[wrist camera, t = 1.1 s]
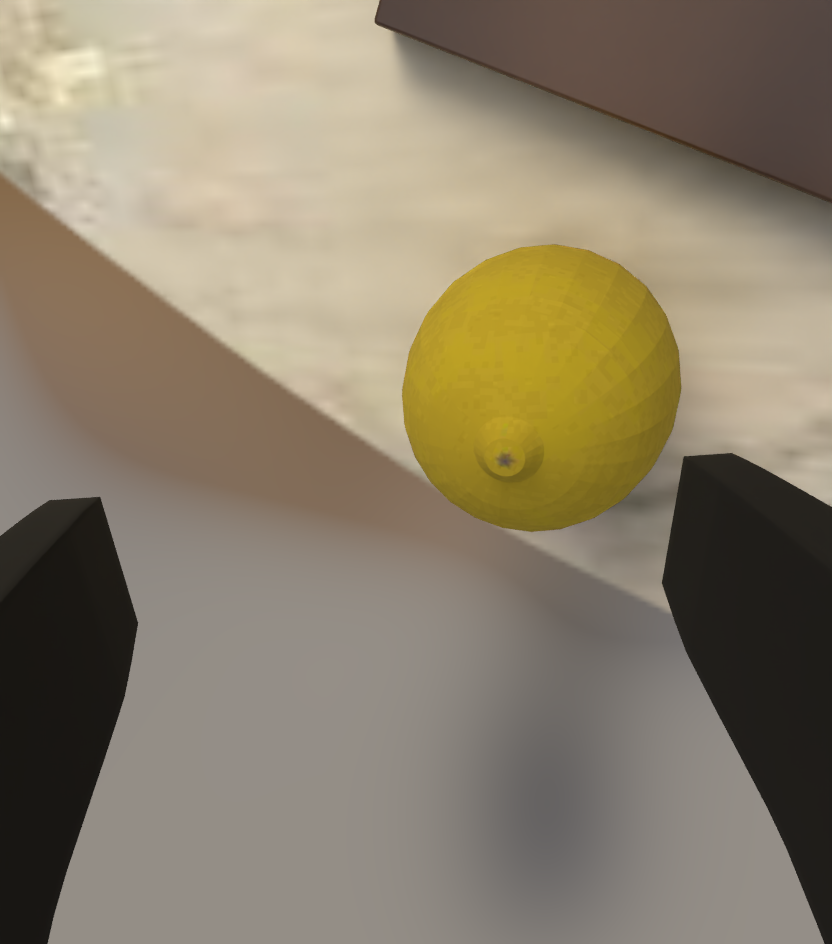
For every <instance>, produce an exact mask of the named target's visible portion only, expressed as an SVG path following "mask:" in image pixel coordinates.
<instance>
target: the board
mask: <svg viewBox="0 0 832 944" xmlns="http://www.w3.org/2000/svg"><path fill="white" fill-rule="evenodd" d="M375 23H376V24H377V25H378V26H381V27H384V28H386V29H389V30H391V31H394V32H396V33H399V34H401V35H404V36H406V37H409V38H412V39H414V40H417V41H419V42H422V43H424V44H427V45H429V46H432V47H435V48H437V49H440V50H442V51H445V52H447V53H450V54H452V55H455V56H458V57H460V58H463V59H465V60H468V61H470V62H473V63H475V64H478V65H480V66H483V67H486V68H488V69H491V70H493V71H496V72H498V73H501V74H503V75H506V76H509V77H511V78H514V79H516V80H519V81H521V82H524V83H526V84H529V85H531V86H534V87H537V88H539V89H542V90H544V91H547V92H549V93H552V94H554V95H557V96H560V97H562V98H565V99H567V100H570V101H572V102H575V103H577V104H580V105H582V106H585V107H588V108H590V109H593V110H595V111H598V112H600V113H603V114H605V115H608V116H611V117H613V118H616V119H618V120H621V121H623V122H626V123H628V124H631V125H634V126H636V127H639V128H641V129H644V130H646V131H649V132H651V133H654V134H656V135H659V136H662V137H664V138H667V139H669V140H672V141H674V142H677V143H679V144H682V145H685V146H687V147H690V148H692V149H695V150H697V151H700V152H702V153H705V154H707V155H710V156H713V157H715V158H718V159H720V160H723V161H725V162H728V163H730V164H733V165H736V166H738V167H741V168H743V169H746V170H748V171H751V172H753V173H756V174H758V175H761V176H764V177H766V178H769V179H771V180H774V181H776V182H779V183H781V184H784V185H787V186H789V187H792V188H794V189H797V190H799V191H802V192H804V193H807V194H810V195H812V196H815V197H817V198H820V199H822V200H825V201H827V202H830V203H832V0H380V1H379V5H378V9H377V12H376V16H375Z"/></svg>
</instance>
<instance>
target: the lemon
mask: <svg viewBox="0 0 832 944" xmlns="http://www.w3.org/2000/svg"><path fill="white" fill-rule="evenodd" d="M680 393H681V378H680V363H679V350H678V347H677V344H676V341H675V339H674V336H673V333H672V330H671V327H670V324H669V322H668V319H667V316H666V314H665V313H664V311H663V310H662V308H661V307H660V305H659V304H658V303H657V301H656V300H655V298H654V297H653V295H652V294H651V292H650V291H649V290H648V288H647V287H646V286H645V285H644V284H643V283H642V282H640V281H639V280H638V279H637V278H635V277H634V276H633V275H632V274H631V273H629V272H628V271H627V270H626V269H625V268H623V267H622V266H621V265H620V264H617V263H615V262H613V261H611V260H609V259H606V258H604V257H602V256H600V255H598V254H595V253H593V252H591V251H589V250H584V249H578V248H572V247H567V246H561V245H555V244H554V245H543V246H532V247H521V248H518V249H515V250H512V251H509V252H507V253H504V254H501V255H498V256H496V257H493V258H490V259H487V260H485V261H484V262H482V263H481V264H479V265H478V266H476V267H475V268H473V269H472V270H470V271H469V272H467V273H466V274H465V275H463V276H462V277H460V278H459V279H457V280H456V281H454V282H453V283H452V284H451V285H450V287H449V288H448V289H447V290H446V291H445V292H444V294H443V295H442V296H441V297H440V298H439V300H438V301H437V302H436V303H435V304H434V306H433V307H432V308H431V309H430V310H429V312H428V313H427V315H426V317H425V319H424V321H423V323H422V325H421V327H420V329H419V331H418V334H417V336H416V338H415V340H414V342H413V344H412V347H411V349H410V352H409V356H408V361H407V367H406V372H405V378H404V383H403V389H402V398H403V411H404V424H405V428H406V431H407V434H408V437H409V440H410V443H411V446H412V449H413V452H414V455H415V458H416V459H417V461H418V463H419V464H420V466H421V467H422V469H423V471H424V472H425V474H426V475H427V477H428V479H429V480H430V482H431V483H432V484H433V485H434V486H435V487H436V488H437V489H438V490H439V491H440V492H441V493H442V494H443V495H444V496H445V497H446V498H447V499H448V500H449V501H450V502H451V503H453V504H455V505H456V506H458V507H459V508H461V509H462V510H464V511H466V512H467V513H469V514H470V515H472V516H474V517H475V518H478V519H480V520H483V521H486V522H488V523H491V524H494V525H496V526H499V527H502V528H508V529H515V530H522V531H530V532H534V531H545V530H556V529H562V528H566V527H569V526H572V525H575V524H578V523H581V522H584V521H587V520H590V519H592V518H595V517H596V516H598V515H599V514H601V513H603V512H604V511H606V510H607V509H609V508H611V507H612V506H614V505H615V504H617V503H619V502H620V501H621V500H623V499H624V498H625V497H626V496H627V495H628V494H629V493H630V492H631V491H632V490H633V489H634V488H635V486H636V485H637V484H638V483H639V482H640V481H641V480H642V479H643V478H644V477H645V476H646V475H647V473H648V472H649V471H650V470H651V469H652V467H653V466H654V464H655V462H656V461H657V459H658V457H659V455H660V453H661V451H662V449H663V447H664V445H665V443H666V442H667V440H668V438H669V436H670V434H671V432H672V429H673V426H674V421H675V417H676V412H677V407H678V403H679V398H680Z"/></svg>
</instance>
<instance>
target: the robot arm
mask: <svg viewBox="0 0 832 944" xmlns="http://www.w3.org/2000/svg"><path fill="white" fill-rule="evenodd" d="M662 585H663V588H664V591H665V594H666V597H667V600H668V603H669V606H670V608H671V611H672V614H673V617H674V620H675V623H676V625H677V628H678V631H679V634H680V636H681V639H682V642H683V644H684V647H685V650H686V652H687V654H688V656H689V658H690V660H691V662H692V664H693V666H694V668H695V670H696V672H697V674H698V676H699V678H700V680H701V682H702V684H703V686H704V688H705V690H706V692H707V693H708V695H709V697H710V699H711V701H712V703H713V705H714V707H715V709H716V711H717V713H718V715H719V717H720V719H721V720H722V722H723V724H724V726H725V728H726V730H727V732H728V733H729V736H730V737H731V739H732V741H733V743H734V745H735V747H736V749H737V751H738V753H739V755H740V756H741V759H742V760H743V762H744V764H745V766H746V768H747V770H748V772H749V774H750V775H751V778H752V779H753V781H754V783H755V785H756V787H757V789H758V791H759V792H760V794H761V797H762V798H763V800H764V802H765V804H766V806H767V808H768V810H769V812H770V814H771V816H772V818H773V821H774V823H775V825H776V827H777V829H778V831H779V833H780V835H781V838H782V840H783V842H784V844H785V846H786V848H787V851H788V853H789V856H790V858H791V861H792V863H793V866H794V868H795V871H796V873H797V876H798V878H799V881H800V883H801V886H802V888H803V890H804V893H805V896H806V898H807V900H808V903H809V905H810V908H811V910H812V913H813V915H814V918H815V920H816V923H817V925H818V928H819V930H820V933H821V936H822V938H823V940H824V943H825V944H832V507H831V506H829V505H827V504H825V503H824V502H822V501H820V500H818V499H816V498H815V497H813V496H811V495H809V494H808V493H806V492H804V491H802V490H801V489H799V488H797V487H795V486H794V485H792V484H790V483H788V482H787V481H785V480H783V479H781V478H779V477H778V476H776V475H774V474H772V473H770V472H769V471H767V470H765V469H763V468H761V467H759V466H757V465H755V464H753V463H751V462H749V461H748V460H745V459H743V458H741V457H739V456H737V455H735V454H732V453H727V454H713V455H698V456H684V458H683V464H682V470H681V475H680V481H679V487H678V493H677V498H676V504H675V510H674V516H673V522H672V527H671V533H670V539H669V545H668V551H667V556H666V562H665V568H664V574H663V579H662ZM137 626H138V622H137V618H136V615H135V612H134V608H133V605H132V602H131V598H130V595H129V592H128V588H127V585H126V581H125V578H124V575H123V571H122V569H121V565H120V562H119V558H118V555H117V552H116V548H115V545H114V542H113V538H112V535H111V532H110V528H109V525H108V522H107V518H106V515H105V512H104V508H103V505H102V502H101V498H100V497H92V498H79V499H63V500H49V501H48V502H46V503H45V504H43V505H42V506H40V507H39V508H37V509H36V510H34V511H33V512H31V513H30V514H29V515H27V516H26V517H25V518H23V519H22V520H20V521H19V522H18V523H16V524H15V525H14V526H13V527H11V528H10V529H9V530H7V531H6V532H5V533H4V534H2V535H1V536H0V944H47V943H48V939H49V934H50V930H51V926H52V921H53V917H54V913H55V909H56V906H57V903H58V899H59V896H60V892H61V889H62V885H63V882H64V879H65V875H66V872H67V869H68V866H69V863H70V860H71V857H72V854H73V850H74V848H75V845H76V842H77V839H78V836H79V833H80V830H81V827H82V824H83V821H84V818H85V815H86V812H87V809H88V806H89V803H90V800H91V797H92V794H93V791H94V788H95V785H96V782H97V779H98V776H99V773H100V770H101V767H102V765H103V762H104V759H105V755H106V752H107V749H108V746H109V743H110V740H111V737H112V734H113V731H114V728H115V725H116V722H117V719H118V716H119V713H120V709H121V706H122V702H123V700H124V696H125V692H126V687H127V681H128V677H129V672H130V666H131V662H132V656H133V650H134V644H135V638H136V632H137Z"/></svg>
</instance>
